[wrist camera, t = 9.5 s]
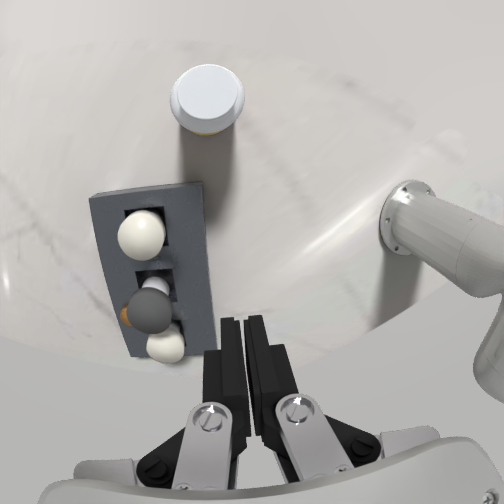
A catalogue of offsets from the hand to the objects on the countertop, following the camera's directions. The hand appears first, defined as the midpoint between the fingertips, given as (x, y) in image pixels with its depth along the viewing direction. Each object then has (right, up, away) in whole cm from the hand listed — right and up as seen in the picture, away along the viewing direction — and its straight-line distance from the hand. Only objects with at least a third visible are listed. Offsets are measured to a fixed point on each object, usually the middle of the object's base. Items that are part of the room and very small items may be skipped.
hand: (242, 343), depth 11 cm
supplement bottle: (-5, +21, +19) cm, 28 cm away
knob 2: (-12, -7, +29) cm, 32 cm away
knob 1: (-13, +8, +22) cm, 27 cm away
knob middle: (-12, -1, +23) cm, 26 cm away
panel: (-12, 0, +26) cm, 29 cm away
